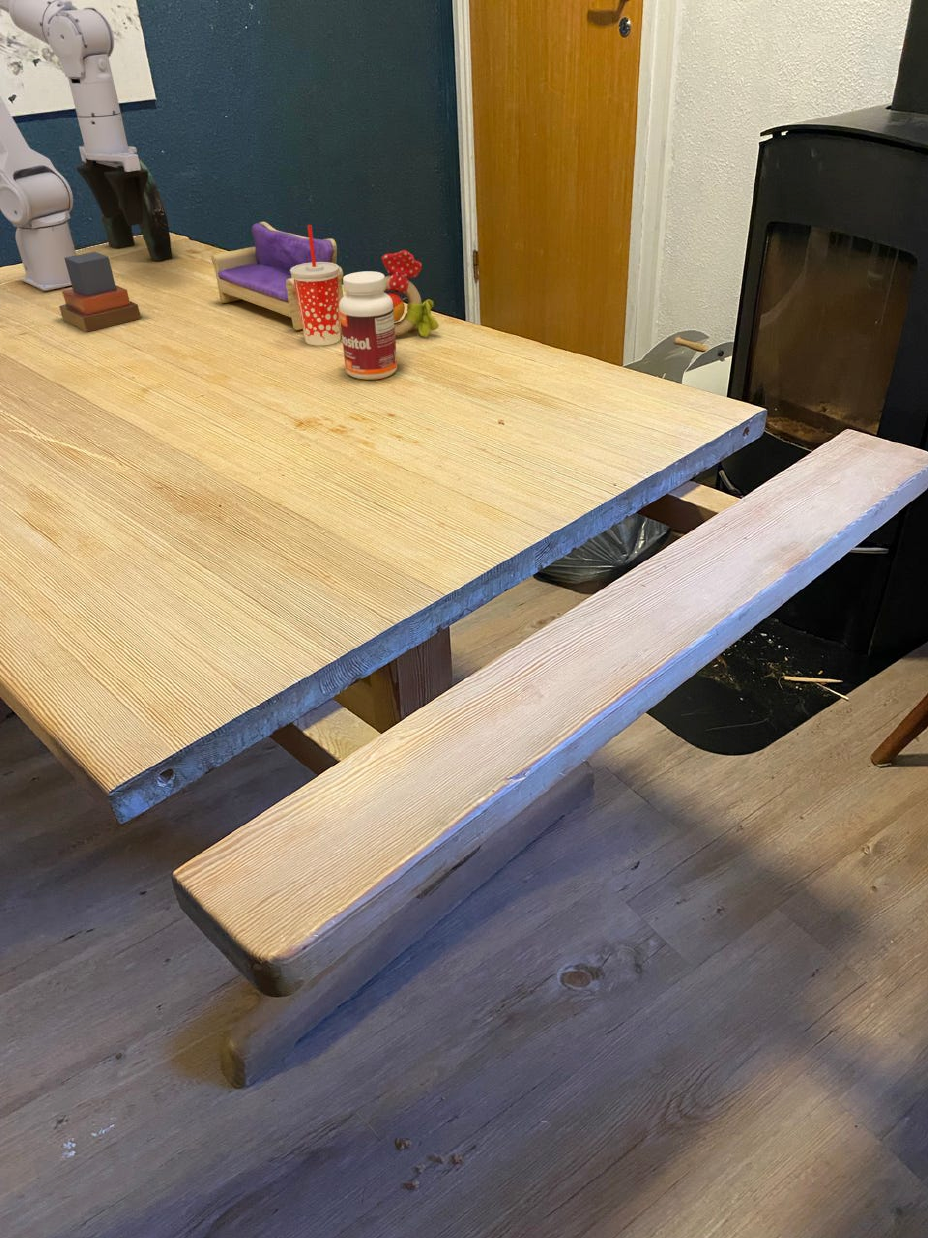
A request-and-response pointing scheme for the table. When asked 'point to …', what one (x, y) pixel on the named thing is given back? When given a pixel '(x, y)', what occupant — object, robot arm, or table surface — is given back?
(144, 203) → the green animal figurine
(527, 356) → the table surface
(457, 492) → the table surface
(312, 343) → the beverage cup
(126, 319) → the stack
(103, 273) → the cube
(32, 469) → the table surface
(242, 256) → the toy sofa
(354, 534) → the table surface
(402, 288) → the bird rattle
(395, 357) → the pill bottle
